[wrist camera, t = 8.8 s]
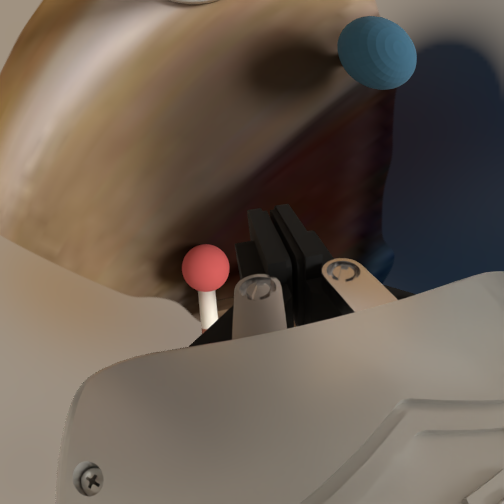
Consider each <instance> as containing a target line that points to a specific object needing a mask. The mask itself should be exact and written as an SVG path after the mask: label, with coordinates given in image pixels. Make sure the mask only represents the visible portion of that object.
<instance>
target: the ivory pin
mask: <svg viewBox="0 0 504 504" xmlns="http://www.w3.org/2000/svg"><path fill="white" fill-rule="evenodd" d="M198 297H199V307H200V317H201V326H202V334H203V333H204V332H205V331H206V330H207V329H208V328H209V327H210V326H211V325H212V324H214V323H215V322H216V321H217V320H218V313H217V304H216V293H215V290H214V291H210V292H201V291H198Z"/></svg>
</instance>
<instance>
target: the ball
mask: <svg viewBox="0 0 504 504" xmlns="http://www.w3.org/2000/svg"><path fill="white" fill-rule="evenodd" d="M182 273H183V276H184V279H185V280H186V282H187V283H188V284H189V285H190V286H191V287H192V288H194V289H195V290H198V291H201V292H210V291H214V290H216V289H218V288H219V287H221V286H222V285H223V284H224V283H225V281H226V280H227V277H228V275H229V262H228V259H227V257H226V255H225V254H224V253H223V251H222V250H220V249H219V248H217V247H216V246H213V245H209V244H203V245H198V246H196V247H194V248H192V249H191V250H190V251H189V252H188V253H187V254H186V256H185V257H184V260H183V263H182Z"/></svg>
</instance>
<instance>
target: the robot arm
mask: <svg viewBox="0 0 504 504" xmlns="http://www.w3.org/2000/svg"><path fill="white" fill-rule="evenodd" d="M170 1H174V2H177V3H183V4H203V3H210V2H214V1H218V0H170ZM247 214H248V222H249V230H250V238H251V241H248V242H242V243H237V244H235V250H236V256H237V262H238V268H239V273H240V278H241V280H240V281H239V282H238V283H237V285H236V287H235V291H234V305H233V306H232V307H231V308H230V309H228V310H227V311H226V312H225V313H224V314H223V315H222V316H221V317H220V318H219V319H218V320H217V321H216V322H215V323H214V324H212V325H211V326H210V327H209V328H208V329H207V330H206V331H205V332H204V333H203V334H202V335H201V336H200V337H199V338H197V339H196V340H195V341H194V342H193V343H192V344H191V345H190V346H189V347H185V348H180V349H173V350H167V351H161V352H155V353H150V354H145V355H140V356H136V357H133V358H129V359H126V360H123V361H120V362H117V363H115V364H112V365H110V366H108V367H105V368H103V369H101V370H99V371H98V372H96V373H95V374H93V375H91V376H90V377H88V378H87V379H86V380H85V381H84V382H83V383H82V385H81V386H80V388H79V389H78V390H77V392H76V394H75V396H74V398H73V400H72V402H71V405H70V408H69V411H68V414H67V418H66V422H65V426H64V430H63V435H62V440H61V446H60V452H59V459H58V469H57V482H56V504H504V272H487V273H483V274H479V275H475V276H472V277H469V278H466V279H462V280H459V281H456V282H453V283H450V284H447V285H444V286H441V287H438V288H435V289H432V290H429V291H426V292H423V293H420V294H417V295H416V294H413V293H409V292H406V291H402V290H399V289H396V288H392V287H389V286H386V285H382V284H381V283H380V282H379V281H378V280H377V279H376V278H375V277H374V276H373V275H372V274H371V273H369V272H368V271H367V270H366V269H365V268H364V267H363V266H362V265H361V264H359V263H358V262H356V261H354V260H351V259H345V258H338V259H334V258H333V257H332V255H331V254H330V252H329V251H328V250H327V248H326V247H325V245H324V244H323V243H322V241H321V240H320V238H319V237H318V236H317V234H316V233H315V232H314V231H307V230H306V229H305V227H304V226H303V224H302V223H301V222H300V220H299V219H298V217H297V216H296V214H295V213H294V212H293V210H292V209H291V207H290V206H289V205H288V204H285V205H278V206H275V207H274V210H270V217H269V215H268V213H267V211H262V210H261V208H259V209H253V210H247ZM294 321H295V324H296V326H297V327H294Z"/></svg>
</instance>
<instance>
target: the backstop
mask: <svg viewBox="0 0 504 504" xmlns="http://www.w3.org/2000/svg"><path fill="white" fill-rule="evenodd" d="M216 304H217V313H218V318H219V317H221V316H222V315H223V314H224V313H225V312H226V311H227V310H228V309H230V308H231V307H232V306H233V305H234V297H233V298H228V299H223V300H217V301H216Z"/></svg>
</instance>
